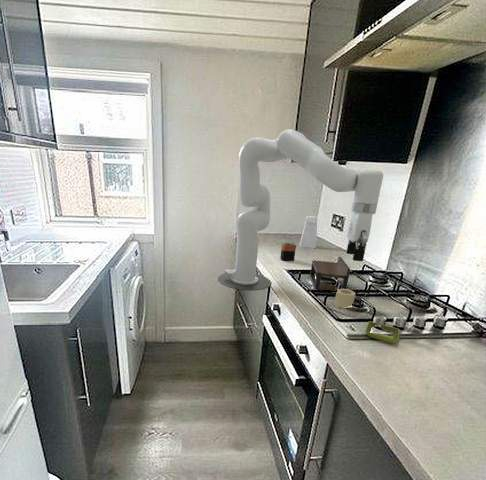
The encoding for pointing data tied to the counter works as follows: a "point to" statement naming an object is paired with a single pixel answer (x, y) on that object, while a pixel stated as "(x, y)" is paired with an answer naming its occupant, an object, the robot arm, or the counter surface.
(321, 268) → the rack
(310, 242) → the grater
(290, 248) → the battery
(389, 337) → the green square frame
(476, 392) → the counter surface
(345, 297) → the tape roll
